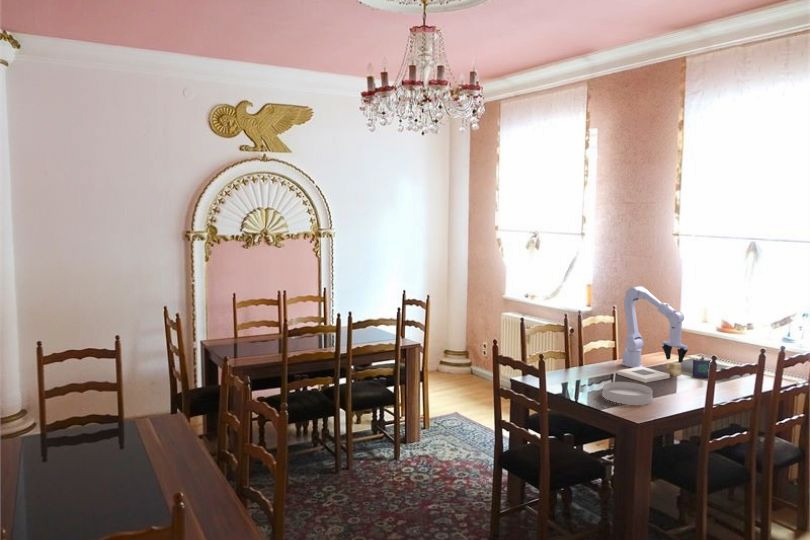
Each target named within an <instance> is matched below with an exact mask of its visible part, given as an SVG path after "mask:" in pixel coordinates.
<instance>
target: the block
mask: <svg viewBox="0 0 810 540" xmlns="http://www.w3.org/2000/svg"><path fill="white" fill-rule="evenodd" d="M665 373H667V374H670V376H674V377H676V376H681V375H682V362H681V363H679V362H676V361H669V362H666V372H665Z"/></svg>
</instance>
